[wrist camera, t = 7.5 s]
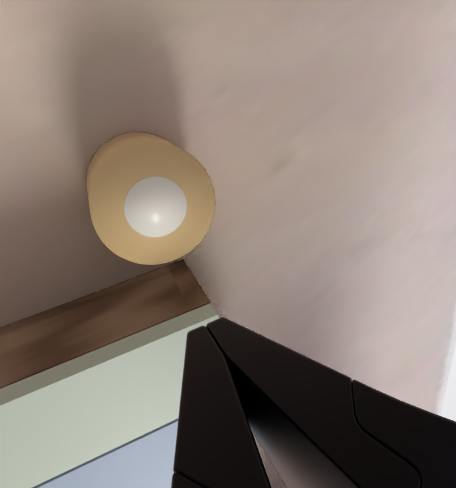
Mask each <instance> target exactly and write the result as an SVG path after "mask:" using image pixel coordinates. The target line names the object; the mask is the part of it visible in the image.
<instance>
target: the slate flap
mask: <svg viewBox="0 0 456 488" xmlns="http://www.w3.org/2000/svg"><path fill="white" fill-rule="evenodd" d="M177 427H178V419H176V420H173V421H171V422H169V423H167V424H165V425H163V426H161V427H159V428H157V429H154V430H152V431H150V432H148V433H146V434H144V435H142V436H140V437H138V438H136V439H133V440H131V441H129V442H127V443H125V444H123V445H121V446H119V447H117V448H114V449H112V450H110V451H108V452H106V453H104V454H102V455H100V456H98V457H95V458H93V459H91V460H89V461H87V462H85V463H83V464H81V465H79V466H77V467H74V468H72V469H70V470H68V471H66V472H64V473H62V474H60V475H58V476H55V477H53V478H51V479H49V480H47V481H45V482H43V483H41V484H39V485H37V486H34V487H32V488H171V483H172V475H173V473H174V472H173V465H174V456H175V446H176V436H177Z"/></svg>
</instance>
